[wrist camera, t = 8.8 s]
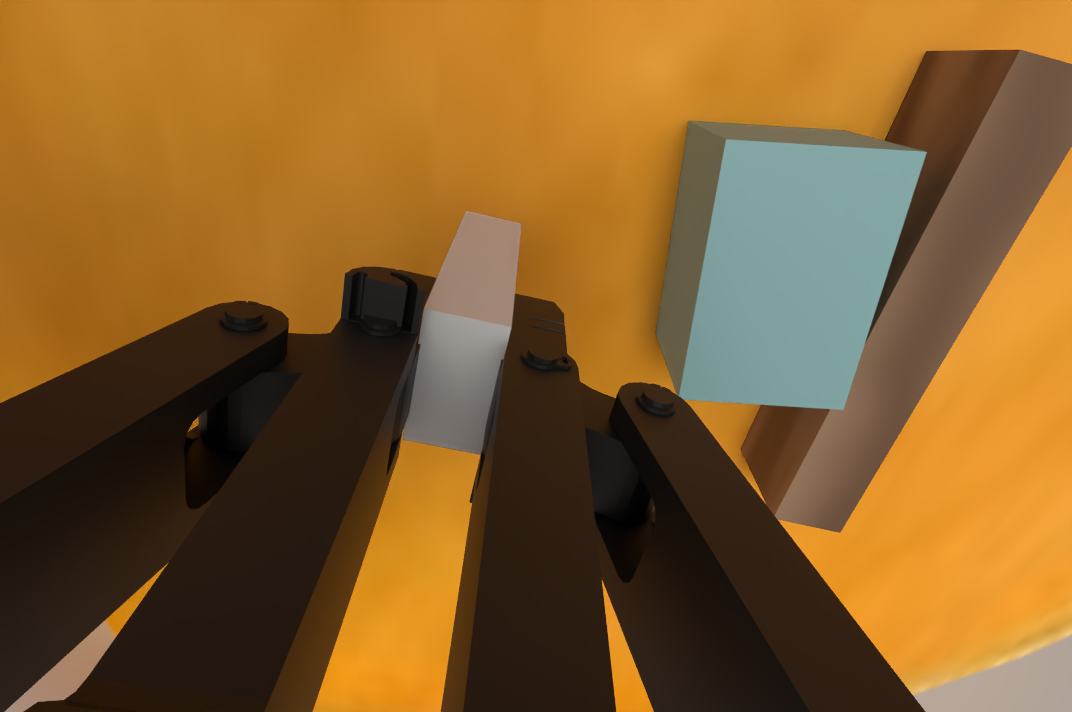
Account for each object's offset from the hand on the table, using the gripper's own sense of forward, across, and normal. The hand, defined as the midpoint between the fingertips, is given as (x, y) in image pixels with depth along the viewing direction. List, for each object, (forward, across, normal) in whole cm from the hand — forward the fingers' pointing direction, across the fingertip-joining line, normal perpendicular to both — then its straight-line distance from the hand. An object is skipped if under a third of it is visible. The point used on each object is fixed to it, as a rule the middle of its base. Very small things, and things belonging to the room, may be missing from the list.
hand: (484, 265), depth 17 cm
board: (+9, +16, 0) cm, 18 cm away
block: (+9, +10, 0) cm, 14 cm away
